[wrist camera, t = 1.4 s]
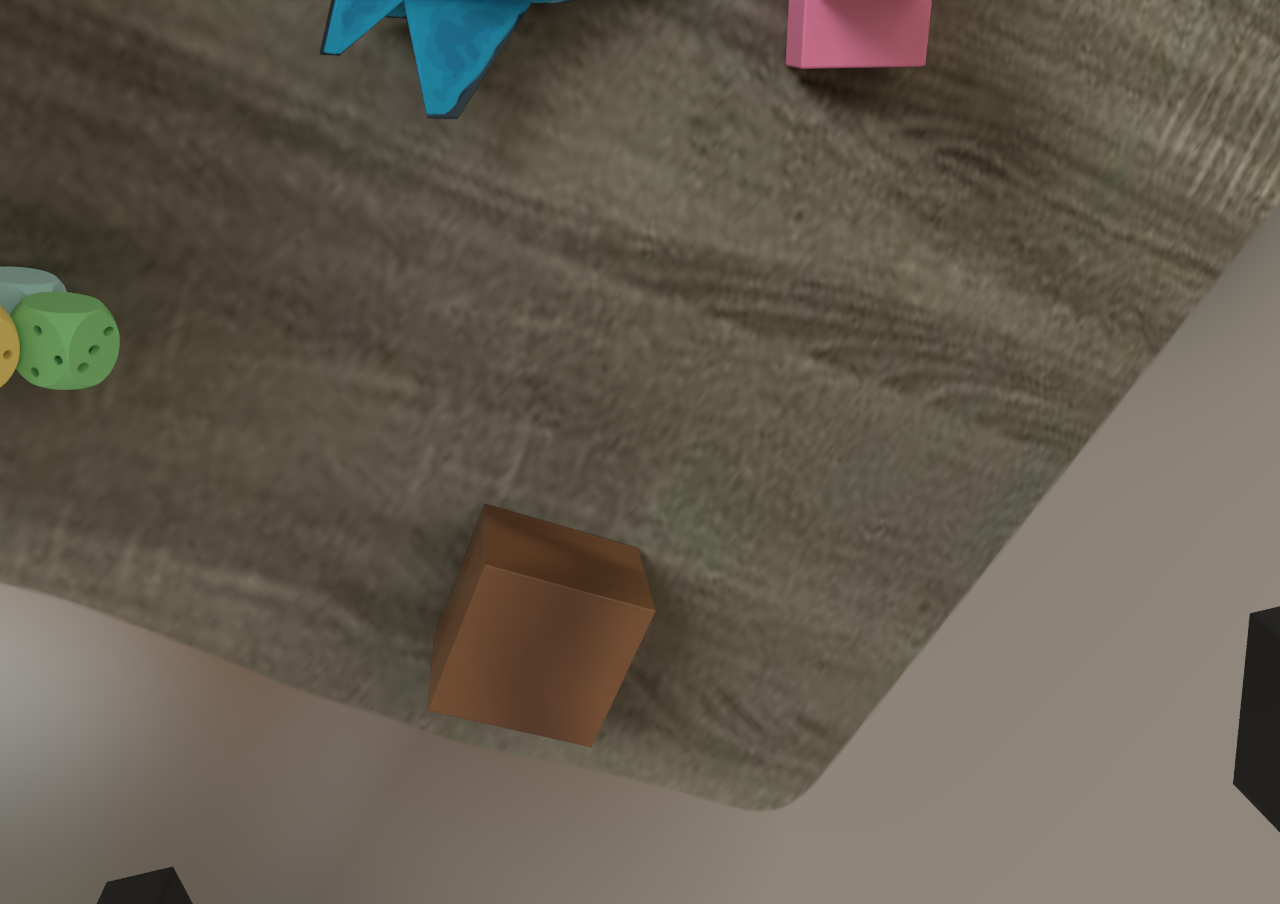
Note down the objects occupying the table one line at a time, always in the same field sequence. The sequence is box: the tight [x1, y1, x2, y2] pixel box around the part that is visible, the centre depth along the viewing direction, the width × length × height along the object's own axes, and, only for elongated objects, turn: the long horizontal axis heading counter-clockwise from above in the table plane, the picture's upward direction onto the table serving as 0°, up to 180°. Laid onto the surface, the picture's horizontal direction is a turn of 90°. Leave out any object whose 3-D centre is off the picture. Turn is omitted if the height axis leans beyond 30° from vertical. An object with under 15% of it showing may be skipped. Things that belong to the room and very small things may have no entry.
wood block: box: [428, 504, 656, 747], centre depth 41 cm, size 7×7×5 cm
